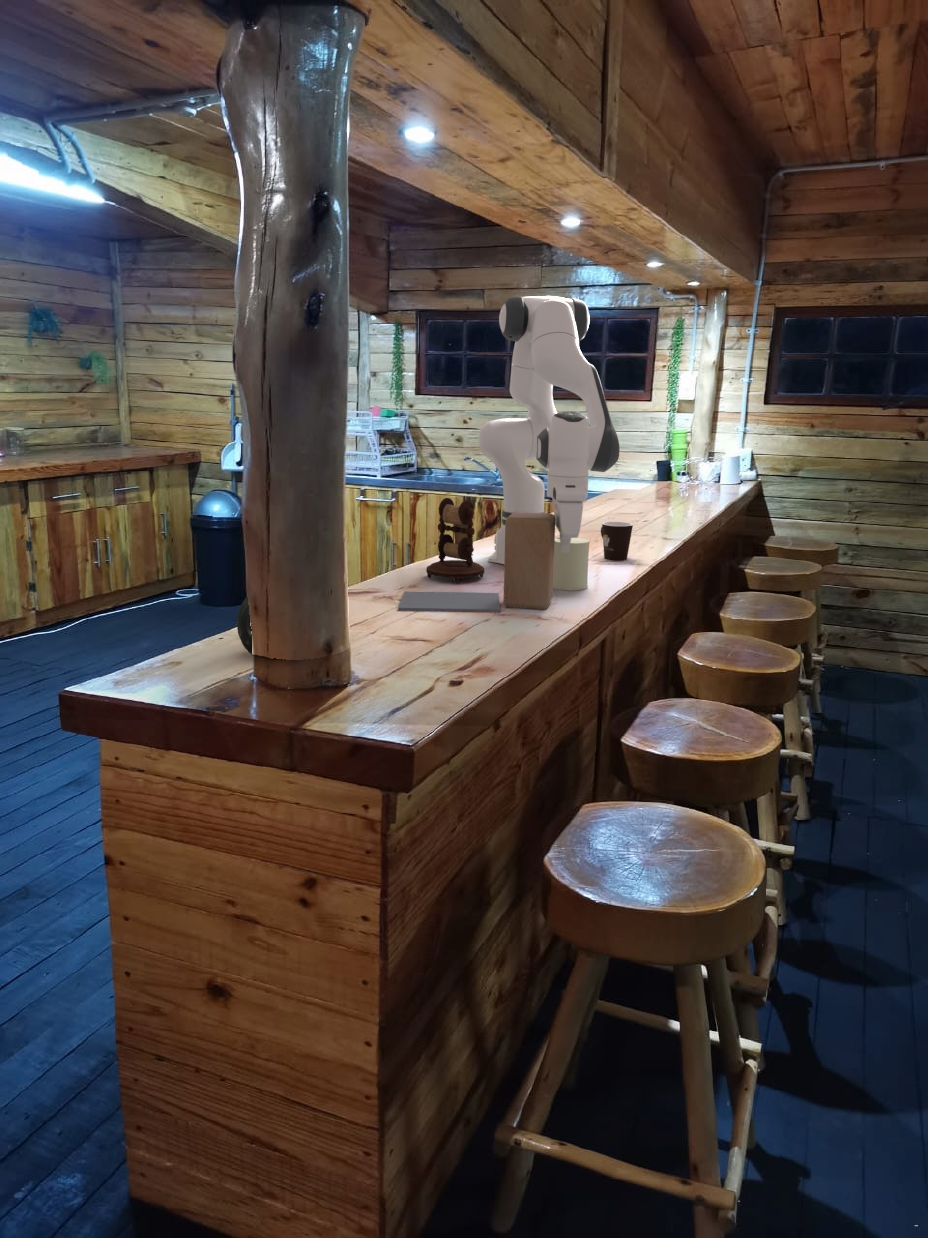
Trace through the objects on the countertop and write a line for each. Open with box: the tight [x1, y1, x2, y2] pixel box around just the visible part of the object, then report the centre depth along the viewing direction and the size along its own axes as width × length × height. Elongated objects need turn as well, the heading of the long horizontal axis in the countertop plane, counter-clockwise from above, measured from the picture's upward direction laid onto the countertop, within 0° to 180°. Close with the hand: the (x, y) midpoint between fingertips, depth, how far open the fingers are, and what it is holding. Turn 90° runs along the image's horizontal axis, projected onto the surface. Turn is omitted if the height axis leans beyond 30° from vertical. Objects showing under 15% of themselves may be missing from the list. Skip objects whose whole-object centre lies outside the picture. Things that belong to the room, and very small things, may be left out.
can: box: [553, 536, 591, 592], centre depth 217 cm, size 9×9×12 cm
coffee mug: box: [600, 521, 634, 562], centre depth 255 cm, size 12×9×10 cm
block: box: [502, 512, 556, 610], centre depth 198 cm, size 10×10×20 cm
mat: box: [397, 590, 501, 613], centre depth 201 cm, size 16×22×1 cm
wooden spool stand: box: [425, 497, 485, 585], centre depth 224 cm, size 15×15×20 cm
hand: (564, 551), depth 198 cm, fingers closed
